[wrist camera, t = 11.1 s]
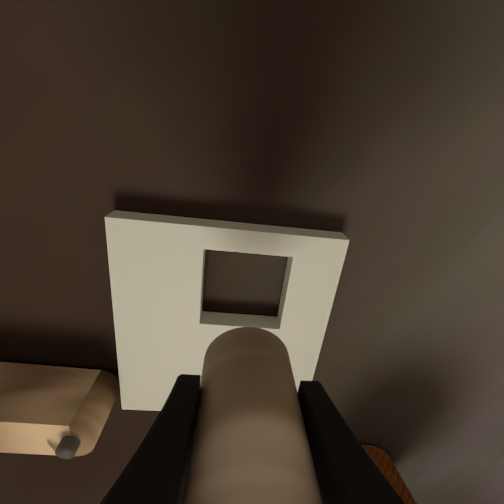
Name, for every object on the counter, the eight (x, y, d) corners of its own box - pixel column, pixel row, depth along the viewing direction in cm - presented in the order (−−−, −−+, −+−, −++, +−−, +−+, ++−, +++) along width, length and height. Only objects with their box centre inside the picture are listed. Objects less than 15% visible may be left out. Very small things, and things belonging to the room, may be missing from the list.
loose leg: (203, 326, 10) (142, 663, 4) (293, 327, 10) (385, 650, 4) (204, 393, 11) (159, 738, 5) (284, 393, 12) (344, 725, 5)
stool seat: (114, 210, 15) (104, 217, 14) (341, 232, 16) (349, 240, 15) (128, 393, 20) (121, 409, 19) (299, 401, 21) (302, 416, 20)
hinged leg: (121, 369, 19) (88, 439, 15) (122, 396, 20) (91, 469, 16) (-66, 353, 18) (-161, 424, 14) (-56, 383, 19) (-142, 457, 14)
